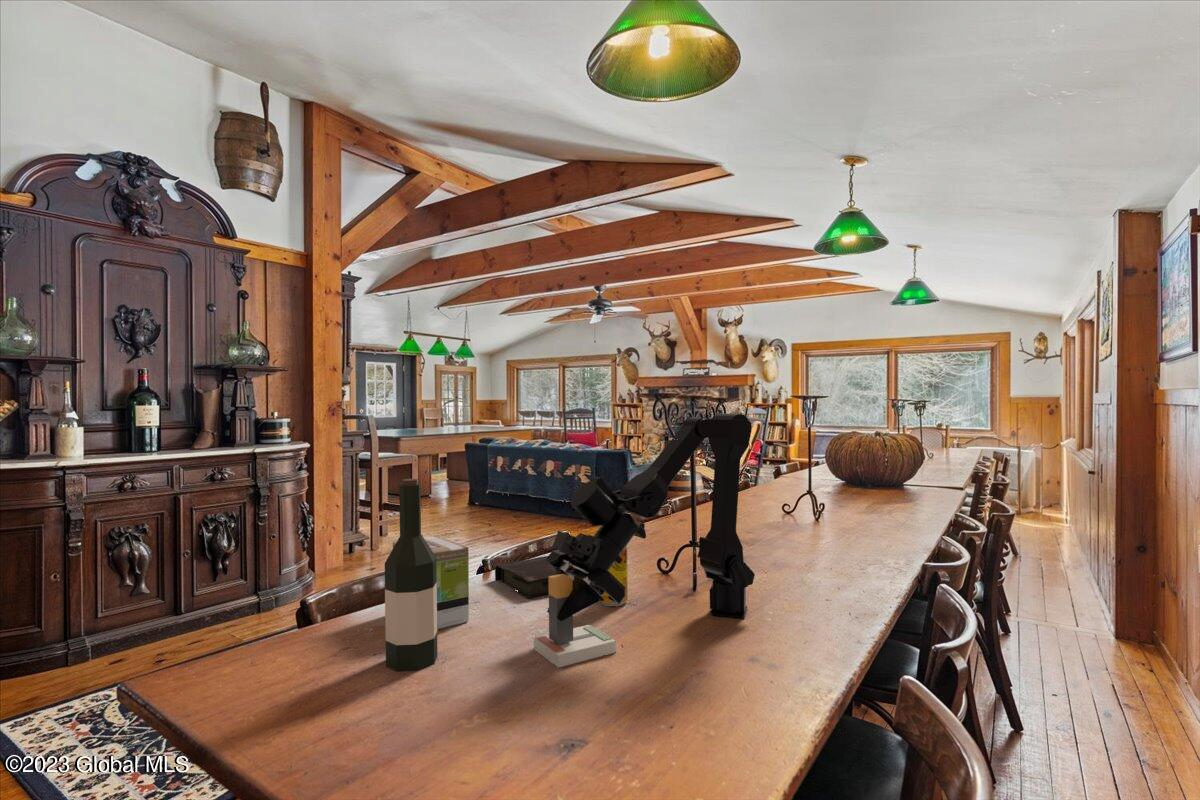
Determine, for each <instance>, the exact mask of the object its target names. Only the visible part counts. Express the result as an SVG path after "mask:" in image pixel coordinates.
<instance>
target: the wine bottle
mask: <svg viewBox="0 0 1200 800" xmlns="http://www.w3.org/2000/svg"><path fill="white" fill-rule="evenodd" d="M418 480H419V479H417V478H404V479H402V480H401V484H399V485H398V486H399V487H398V489H399V491H398V493H399V537H398V539H397V541H395V542H396V544H395V546H394V548H393V547H392V550H391V551H390V553H389V555H388V557H387V559H386V560H385V562H384V608H385V609H384V615H385V619H384V621H385V622H384V623H385V626H384V627H385V630H384V631H385V667H387V668H389V669H391V670H394V671H395V672H412V671H420V670H422V669H424V668H428V667H430V666H432V665H434V664H435V663H436V660H437V659H438V629H437V576H436V556H435V554H434V553H433V551H432V550H431V548H430V547H429V545H428V544H427V542H426V541H425V539H424V536H423V535H422V522H421V521H422V513H421V512H422V508H421V504H422V500H421V497H422V496H421V495H422V494H421V483H419V482H418Z"/></svg>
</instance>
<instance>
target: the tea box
mask: <svg viewBox="0 0 1200 800" xmlns="http://www.w3.org/2000/svg"><path fill="white" fill-rule="evenodd" d="M423 538H424V539H425V541H426V542H427V544H428V545H429V547H430V548H431V550H432V551H433V553H434V554H435V556H436V576H437V630H441V629H445V628H449V627H452V626H458V625H461V624H464V623H468V622H469V618H470V616H469V615H470V605H469V604H470V603H469V601H470V599H469V598H470V597H469V596H470V595H469V594H470V592H469V591H470V590H469V589H470V587H469V582H470V579H469V576H470V574H469V573H470V571H469V569H470V568H469V566H470V565H469V561H470V560H469V558H470V555H469V547H468V546H466V545H464V544H460V543H457V542H455V541H452V540H450V539H447V538H443V537H440V536H437V535H434V536H433V535H432V536H425V537H424V536H423ZM396 542H397V541H393V542H392V549H393V548H394V546H395V544H396Z"/></svg>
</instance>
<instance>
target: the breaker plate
mask: <svg viewBox="0 0 1200 800" xmlns="http://www.w3.org/2000/svg"><path fill="white" fill-rule="evenodd" d="M616 642H617V641H616V640H615V639H614V638H613V637H611V636H609V635H608V634H607V633H605V632H603V631H602V630H600V629H597V628H596V627H595V626H592V625H590V624H586V625H582V626H577V627H573V640H572V641H568V642H564V643H560V644H557V643H555V642H554V641H552V640H551V639H549V633H547V634H543V635H542V634H541V635H538V636H534V637H533V650H534V651H536V652H537V653H539V654H540V655H541V656H542V657H543V658H545V659H547V660H548V661H549V662H550V663H551V664H553V665H554V666H555V667H557V668H562V667H566V666H570V665H574V664H576V663H577V664H578V663H581V662H585V661H589V660H593V659H597V658H600V657H604V655H605V656H607V655H612V654H616V653H617V650H616V649H617V643H616ZM615 652H616V653H615Z"/></svg>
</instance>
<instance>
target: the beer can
mask: <svg viewBox="0 0 1200 800" xmlns="http://www.w3.org/2000/svg"><path fill="white" fill-rule="evenodd" d="M620 557H621V559H622V561H621V563H620V564H617V563H615V562H614V564H613V565H612V567H611V568H610V569H609V572H610V573H611V574H612V575H613V576H614V577H615V578H616V579H617V580H618V581H619V582H620V583H621V584H622V585H623V586H624V587H625V588H626V596H625V598H624V599H623V600H622V602H621V603H620V605H621V606H624V605H625V604H626V602H627V601H628V599H629V598H628V596H629V595H628V584H629V583H628V545H627V546H626V547H625V549H624V550H623V551H622V553H621V554H620ZM602 598H603V599H604V601H603V602H601V601H600V602H601V605H603V604H604V605H603V606H605V605H606V606H605V607H610V606H616V607H621V606H620V605H618V604H616V603H614V602H612V601H610V600H609V595H608V594H607V593H606V592H605V593H604V594H603V596H602ZM623 604H624V605H623Z"/></svg>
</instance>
